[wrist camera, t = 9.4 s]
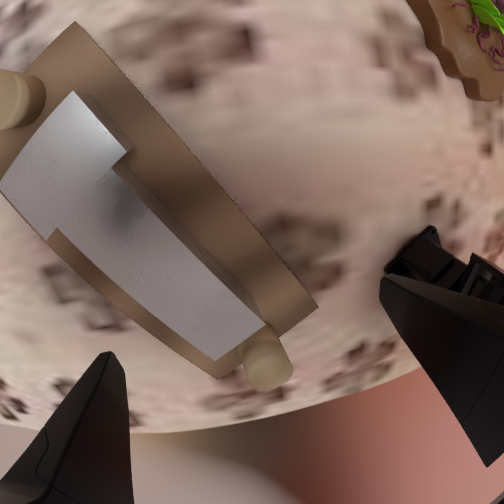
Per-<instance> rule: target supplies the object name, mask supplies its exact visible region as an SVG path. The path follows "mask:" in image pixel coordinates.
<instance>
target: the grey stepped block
mask: <svg viewBox="0 0 504 504" xmlns="http://www.w3.org/2000/svg"><path fill="white" fill-rule="evenodd" d="M134 147H135V145H134V144H133V143H132V141H131V140H130V139H129V138H128V137H127V136H126V135H125V134H124V132H123V131H122V130H121V129H120V128H119V127H118V126H117V125H116V123H115V122H114V121H113V120H112V119H111V118H110V117H109V115H108V114H107V113H106V112H105V111H104V110H103V109H102V107H101V106H100V105H99V104H98V103H97V102H96V101H95V99H94V98H93V97H92V96H91V95H89V94H85V93H82V92H78V91H74V90H73V91H72V92H71V93H70V94H69V95H68V96H67V97H66V98H65V99H64V100H63V101H62V102H61V103H60V104H59V106H58V107H57V108H56V109H55V110H54V111H53V112H52V113H51V115H50V116H49V117H48V118H47V119H46V120H45V121H44V123H43V124H42V125H41V126H40V127H39V129H38V130H37V131H36V132H35V134H34V135H33V136H32V137H31V139H30V140H29V141H28V143H27V144H26V145H25V147H24V148H23V149H22V151H21V152H20V153H19V155H18V156H17V157H16V159H15V160H14V162H13V163H12V165H11V166H10V167H9V169H8V170H7V172H6V173H5V175H4V176H3V178H2V180H1V181H0V190H1V191H2V192H3V194H4V195H5V196H6V197H7V198H8V200H9V201H10V202H11V203H12V204H13V205H14V206H15V208H16V209H17V210H18V211H19V212H20V213H21V214H22V215H23V217H24V218H25V219H26V220H27V221H28V222H29V223H30V224H31V225H32V226H33V227H34V228H35V230H36V231H37V232H38V233H39V234H40V235H41V236H42V237H43V238H44V239H45V240H47V239H48V238H49V237H50V236H51V235H52V234H53V232H54V231H55V230H56V229H57V228H58V229H59V230H60V231H61V232H62V233H63V234H64V235H65V236H66V237H67V238H68V239H69V240H70V241H71V242H72V243H73V244H74V245H75V246H76V247H77V248H78V249H79V250H80V251H81V252H82V253H83V254H84V255H85V256H87V257H88V258H89V259H90V260H91V261H92V262H93V263H94V264H95V265H96V266H97V267H98V268H99V269H100V270H102V271H103V272H104V273H105V274H106V275H107V276H108V277H109V278H110V279H112V280H113V281H114V282H115V283H116V284H117V285H118V286H119V287H121V288H122V289H123V290H124V291H125V292H126V293H128V294H129V295H130V296H131V297H132V298H133V299H135V300H136V301H137V302H138V303H139V304H141V305H142V306H143V307H144V308H145V309H147V310H148V311H149V312H150V313H152V314H153V315H154V316H155V317H157V318H158V319H159V320H160V321H162V322H163V323H164V324H165V325H167V326H168V327H169V328H171V329H172V330H173V331H175V332H176V333H177V334H178V335H180V336H181V337H182V338H184V339H185V340H186V341H188V342H189V343H190V344H192V345H193V346H195V347H196V348H197V349H199V350H200V351H201V352H203V353H204V354H206V355H207V356H208V357H210V358H211V359H213V360H214V361H216V360H217V359H219V358H220V357H222V356H223V355H224V354H226V353H227V352H229V351H230V350H232V349H233V348H234V347H236V346H237V345H239V344H240V343H241V342H243V341H244V340H245V339H247V338H248V337H250V336H251V335H252V334H254V333H255V332H256V331H258V330H259V329H260V328H262V327H263V326H265V325H266V324H265V321H264V319H263V317H262V315H261V313H260V311H259V308H258V306H257V304H256V302H255V300H254V298H253V296H252V295H251V294H250V293H249V292H248V291H247V290H246V289H245V288H244V287H243V286H242V285H241V284H240V283H239V282H238V281H237V280H236V279H235V278H234V277H233V276H232V275H231V274H230V273H229V272H228V271H227V270H226V269H225V268H224V267H223V266H222V265H221V264H220V263H219V262H218V261H217V260H216V259H215V258H214V257H213V256H212V255H211V254H210V253H209V251H208V250H207V249H206V248H205V247H204V246H203V245H202V244H201V243H200V242H199V241H198V240H197V239H196V238H195V237H194V236H193V235H192V234H191V233H190V232H189V231H188V230H187V229H186V227H185V226H184V225H183V224H182V223H181V222H180V221H179V220H178V219H177V218H176V217H175V216H174V215H173V214H172V213H171V212H170V211H169V209H168V208H167V207H166V206H165V205H164V204H163V203H162V202H161V201H160V200H159V199H158V198H157V197H156V196H155V194H154V193H153V192H152V191H151V190H150V189H149V188H148V187H147V186H146V185H145V184H144V183H143V181H142V180H141V179H140V178H139V177H138V176H137V175H136V174H135V173H134V172H133V170H132V169H131V168H130V167H129V166H128V165H127V164H126V163H125V162H124V161H123V159H122V158H123V157H124V156H125V155H127V154H128V153H129V152H130V151H131V150H132V149H133V148H134Z"/></svg>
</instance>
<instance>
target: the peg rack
mask: <svg viewBox="0 0 504 504" xmlns="http://www.w3.org/2000/svg"><path fill="white" fill-rule="evenodd" d="M73 90H74V91H78V92H82V93H85V94H89V95H91V96H92V97H93V98H94V99H95V101H96V102H97V103H98V104H99V105H100V106H101V107H102V109H103V110H104V111H105V112H106V113H107V114H108V115H109V117H110V118H111V119H112V120H113V121H114V122H115V123H116V125H117V126H118V127H119V128H120V129H121V130H122V131H123V132H124V134H125V135H126V136H127V137H128V138H129V139H130V140H131V141H132V143H133V144H134V145H135V147H134V148H133V149H132V150H131V151H130V152H129V153H128V154H127V155H125V156H124V157H123V158H122V159H123V161H124V162H125V163H126V164H127V165H128V166H129V167H130V168H131V169H132V170H133V172H134V173H135V174H136V175H137V176H138V177H139V178H140V179H141V180H142V181H143V183H144V184H145V185H146V186H147V187H148V188H149V189H150V190H151V191H152V192H153V193H154V194H155V196H156V197H157V198H158V199H159V200H160V201H161V202H162V203H163V204H164V205H165V206H166V207H167V208H168V209H169V211H170V212H171V213H172V214H173V215H174V216H175V217H176V218H177V219H178V220H179V221H180V222H181V223H182V224H183V225H184V226H185V227H186V229H187V230H188V231H189V232H190V233H191V234H192V235H193V236H194V237H195V238H196V239H197V240H198V241H199V242H200V243H201V244H202V245H203V246H204V247H205V248H206V249H207V250H208V251H209V253H210V254H211V255H212V256H213V257H214V258H215V259H216V260H217V261H218V262H219V263H220V264H221V265H222V266H223V267H224V268H225V269H226V270H227V271H228V272H229V273H230V274H231V275H232V276H233V277H234V278H235V279H236V280H237V281H238V282H239V283H240V284H241V285H242V286H243V287H244V288H245V289H246V290H247V291H248V292H249V293H250V294H251V295H252V296H253V298H254V300H255V302H256V304H257V306H258V308H259V311H260V313H261V315H262V317H263V319H264V321H265V324H266V325H265V326H263V327H262V328H260V329H259V330H258V331H256V332H255V333H254V334H252V335H251V336H250V337H248V338H247V339H245V340H244V341H243V342H241V343H240V344H239V345H237V346H236V347H234V348H233V349H232V350H230V351H229V352H227V353H226V354H224V355H223V356H222V357H220V358H219V359H217V360H216V361H214V360H213V359H211V358H210V357H208V356H207V355H206V354H204V353H203V352H201V351H200V350H199V349H197V348H196V347H195V346H193V345H192V344H190V343H189V342H188V341H186V340H185V339H184V338H182V337H181V336H180V335H178V334H177V333H176V332H175V331H173V330H172V329H171V328H169V327H168V326H167V325H165V324H164V323H163V322H162V321H160V320H159V319H158V318H157V317H155V316H154V315H153V314H152V313H150V312H149V311H148V310H147V309H145V308H144V307H143V306H142V305H141V304H139V303H138V302H137V301H136V300H135V299H133V298H132V297H131V296H130V295H129V294H128V293H126V292H125V291H124V290H123V289H122V288H121V287H119V286H118V285H117V284H116V283H115V282H114V281H113V280H112V279H110V278H109V277H108V276H107V275H106V274H105V273H104V272H103V271H102V270H100V269H99V268H98V267H97V266H96V265H95V264H94V263H93V262H92V261H91V260H90V259H89V258H88V257H87V256H85V255H84V254H83V253H82V252H81V251H80V250H79V249H78V248H77V247H76V246H75V245H74V244H73V243H72V242H71V241H70V240H69V239H68V238H67V237H66V236H65V235H64V234H63V233H62V232H61V231H60V230H59V229H58V228H57V229H56V230H55V231H54V232H53V234H52V235H51V236H50V237H49V238H48V239H47V240H45V239H44V238H43V237H42V236H41V235H40V234H39V233H38V232H37V231H36V230H35V228H34V227H33V226H32V225H31V224H30V223H29V222H28V221H27V220H26V219H25V218H24V217H23V215H22V214H21V213H20V212H19V211H18V210H17V209H16V208H15V206H14V205H13V204H12V203H11V202H10V201H9V200H8V198H7V197H6V196H5V195H4V194H3V192H2V191H1V190H0V192H1V194H2V195H3V196H4V197H5V198H6V200H7V201H8V202H9V203H10V204H11V205H12V207H13V208H14V209H15V210H16V211H17V212H18V213H19V214H20V216H21V217H22V218H23V219H24V220H25V221H26V222H27V223H28V224H29V225H30V226H31V228H32V229H33V230H34V231H35V232H36V233H37V234H38V235H39V236H40V237H41V238H42V239H43V240H44V241H45V242H46V243H47V244H48V245H49V246H50V247H51V248H52V249H53V250H54V251H55V252H56V253H57V254H58V255H59V256H60V257H61V258H62V259H63V260H64V261H65V262H66V263H67V264H68V265H69V266H70V267H72V268H73V269H74V270H75V271H76V272H77V273H78V274H79V275H80V276H81V277H82V278H84V279H85V280H86V281H87V282H88V283H89V284H90V285H91V286H93V287H94V288H95V289H96V290H97V291H98V292H99V293H101V294H102V295H103V296H104V297H105V298H106V299H108V300H109V301H110V302H111V303H112V304H114V305H115V306H116V307H117V308H118V309H120V310H121V311H122V312H123V313H125V314H126V315H127V316H128V317H130V318H131V319H132V320H133V321H135V322H136V323H137V324H139V325H140V326H141V327H142V328H144V329H145V330H146V331H148V332H149V333H150V334H152V335H153V336H154V337H156V338H157V339H158V340H160V341H161V342H163V343H164V344H165V345H167V346H168V347H170V348H171V349H172V350H174V351H175V352H177V353H178V354H179V355H181V356H182V357H184V358H185V359H187V360H188V361H190V362H191V363H193V364H194V365H196V366H197V367H199V368H200V369H202V370H203V371H205V372H206V373H208V374H209V375H211V376H212V377H214V378H216V379H217V380H218V379H220V378H221V377H223V376H224V375H226V374H227V373H229V372H230V371H232V370H233V369H235V368H236V367H238V366H239V365H241V364H242V363H243V366H244V370H245V373H246V376H247V379H248V382H249V384H250V386H251V387H253V388H254V389H257V390H271V389H274V388H277V387H279V386H281V385H283V384H284V383H285V382H287V381H288V380H289V379H290V377H291V376H292V373H293V366H292V364H291V362H290V360H289V358H288V356H287V354H286V352H285V350H284V348H283V346H282V344H281V342H280V340H279V337H280V336H282V335H283V334H284V333H286V332H287V331H288V330H290V329H291V328H292V327H294V326H295V325H296V324H298V323H299V322H300V321H302V320H303V319H304V318H305V317H307V316H308V315H309V314H311V313H312V312H313V311H315V310H316V309H317V308H318V307H319V306H318V305H317V304H316V302H315V301H314V300H313V298H312V297H311V296H310V294H309V293H308V292H307V291H306V289H305V288H304V287H303V286H302V284H301V283H300V282H299V281H298V280H297V278H296V277H295V276H294V275H293V273H292V272H291V271H290V270H289V268H288V267H287V266H286V265H285V264H284V262H283V261H282V260H281V259H280V257H279V256H278V255H277V254H276V253H275V251H274V250H273V249H272V248H271V246H270V245H269V244H268V243H267V242H266V240H265V239H264V238H263V237H262V235H261V234H260V233H259V232H258V231H257V229H256V228H255V227H254V226H253V225H252V223H251V222H250V221H249V220H248V219H247V217H246V216H245V215H244V214H243V213H242V211H241V210H240V209H239V208H238V207H237V205H236V204H235V203H234V202H233V201H232V199H231V198H230V197H229V196H228V195H227V193H226V192H225V191H224V190H223V189H222V187H221V186H220V185H219V184H218V183H217V181H216V180H215V179H214V178H213V177H212V176H211V174H210V173H209V172H208V171H207V170H206V168H205V167H204V166H203V165H202V164H201V163H200V161H199V160H198V159H197V158H196V157H195V156H194V154H193V153H192V152H191V151H190V150H189V148H188V147H187V146H186V145H185V144H184V143H183V141H182V140H181V139H180V138H179V137H178V136H177V134H176V133H175V132H174V131H173V130H172V129H171V127H170V126H169V125H168V124H167V123H166V122H165V121H164V119H163V118H162V117H161V116H160V115H159V114H158V112H157V111H156V110H155V109H154V108H153V107H152V106H151V104H150V103H149V102H148V101H147V100H146V99H145V98H144V96H143V95H142V94H141V93H140V92H139V91H138V90H137V88H136V87H135V86H134V85H133V84H132V83H131V82H130V80H129V79H128V78H127V77H126V76H125V75H124V74H123V73H122V71H121V70H120V69H119V68H118V67H117V66H116V65H115V64H114V62H113V61H112V60H111V59H110V58H109V57H108V56H107V55H106V53H105V52H104V51H103V50H102V49H101V48H100V47H99V46H98V45H97V43H96V42H95V41H94V40H93V39H92V38H91V37H90V36H89V35H88V33H87V32H86V31H85V30H84V29H83V28H82V27H81V26H80V25H79V24H78V23H77V22H76V21H74V22H73V23H72V24H71V25H70V26H69V27H68V28H67V29H65V30H64V31H63V32H62V33H61V34H60V35H59V36H58V37H57V38H56V39H55V40H54V41H53V42H52V43H51V44H50V45H49V46H48V47H47V48H46V49H45V50H44V51H43V52H42V53H41V54H40V55H39V56H38V57H37V58H36V59H35V60H34V62H33V63H32V64H31V65H30V66H29V67H28V68H27V69H26V71H25V72H24V73H23V74H22V73H18V72H13V71H8V70H3V69H0V181H1V180H2V178H3V176H4V175H5V173H6V172H7V170H8V169H9V167H10V166H11V165H12V163H13V162H14V160H15V159H16V157H17V156H18V155H19V153H20V152H21V151H22V149H23V148H24V147H25V145H26V144H27V143H28V141H29V140H30V139H31V137H32V136H33V135H34V134H35V132H36V131H37V130H38V129H39V127H40V126H41V125H42V124H43V123H44V121H45V120H46V119H47V118H48V117H49V116H50V115H51V113H52V112H53V111H54V110H55V109H56V108H57V107H58V106H59V104H60V103H61V102H62V101H63V100H64V99H65V98H66V97H67V96H68V95H69V94H70V93H71V92H72V91H73Z"/></svg>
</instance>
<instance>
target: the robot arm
mask: <svg viewBox="0 0 504 504" xmlns="http://www.w3.org/2000/svg"><path fill="white" fill-rule="evenodd" d="M385 274H386V276H383V277H382V278H381V283H380V294H379V298H380V302H381V304H382V306H383V308H384V309H385V311H386V313H387V314H388V316H389V318H390V319H391V321H392V323H393V325H394V326H395V328H396V330H397V331H398V333H399V335H400V336H401V338H402V339H403V341H404V342H405V343H406V345H407V346H408V347H409V349H410V350H411V352H412V353H413V354H414V356H415V357H416V359H417V360H418V361H419V363H420V364H421V366H422V367H423V369H424V370H425V371H426V373H427V374H428V376H429V377H430V379H431V380H432V382H433V383H434V385H435V386H436V388H437V389H438V390H439V392H440V394H441V395H442V397H443V398H444V400H445V401H446V403H447V404H448V406H449V407H450V409H451V410H452V412H453V413H454V415H455V417H456V418H457V420H458V421H459V423H460V424H461V426H462V428H463V429H464V431H465V433H466V434H467V436H468V438H469V439H470V441H471V443H472V444H473V446H474V448H475V449H476V451H477V452H478V455H479V456H480V458H481V460H482V461H483V463H484V465H485V466H486V467H489V466H490V465H491V464H492V463H493V462H494V461H495V460H496V459H497V458H499V457H500V456H501V455H502V454H503V453H504V270H503V269H501V268H500V267H498V266H497V265H495V264H494V263H492V262H490V261H488V260H486V259H485V258H483V257H481V256H479V255H477V254H475V253H473V252H472V254H471V257H470V261H469V263H468V265H467V264H465V263H464V262H462V261H461V260H459V259H458V258H456V257H455V256H453V255H452V254H451V253H449V252H448V251H446V250H445V249H443V248H441V244H440V240H439V236H438V233H437V229H436V227H434V226H432V225H431V226H429V227H428V228H427V229H426V230H425V231H424V232H423V233H422V234H421V235H420V236H419V237H418V238H417V239H416V240H415V241H414V242H412V243H411V244H410V245H409V246H408V247H407V248H406V249H405V250H404V251H403V252H402V253H401V254H400V255H399V256H397V257H396V258H395V259H394V260H393V261H392V262H391V263H390V264H389V265H387V267H386V268H385ZM0 504H134V498H133V487H132V473H131V458H130V428H129V408H128V399H127V390H126V379H125V372H124V369H123V367H122V366H121V364H120V363H119V361H118V359H117V358H116V356H115V354H114V353H113V352H111V351H109V352H103V353H100V354H99V355H98V356H97V358H96V359H95V360H94V361H93V363H92V364H91V365H90V366H89V368H88V369H87V370H86V371H85V373H84V374H83V375H82V376H81V378H80V379H79V380H78V382H77V383H76V384H75V385H74V387H73V388H72V389H71V391H70V392H69V393H68V395H67V396H66V397H65V398H64V400H63V401H62V402H61V404H60V405H59V406H58V408H57V409H56V410H55V412H54V413H53V414H52V416H51V417H50V418H49V420H48V421H47V422H46V424H45V425H44V427H43V428H42V429H41V431H40V432H39V433H38V435H37V436H36V437H35V439H34V440H33V441H32V443H31V444H30V445H29V447H28V448H27V449H26V450H25V452H24V453H23V454H22V455H21V456H20V458H19V459H18V460H17V461H16V462H15V463H14V465H13V466H12V467H11V468H10V470H9V471H8V472H7V473H6V474H5V476H4V477H3V478H2V479H1V480H0ZM490 504H504V491H503V492H502V494H500V495H499V496H498V497H497V498H496V499H495V500H494V501H493V502H491V503H490Z"/></svg>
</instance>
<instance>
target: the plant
mask: <svg viewBox="0 0 504 504" xmlns="http://www.w3.org/2000/svg"><path fill="white" fill-rule="evenodd" d="M406 1H407V3H408V4H409V6H410V7H411V9H412V10H413V12H414V13H415V15H416V16H417V18H418V20H419V21H420V23H421V25H422V27H423V30H424V33H425V38H426V46H427V48H428V49H430V50H432V51H433V52H434V53H435V54H436V55H437V57H438V58H439V60H440V63H441V66H442V68H443V71H444V73H445V74H446V75H447V76H449V77H455V78H459V79H461V80H462V82H463V85H464V89H465V93H466V96H467V97H469V98H472V99H475V100H481V101H496V100H498V99H499V98H500V96H501V95H502V93H503V91H504V0H406Z"/></svg>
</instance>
